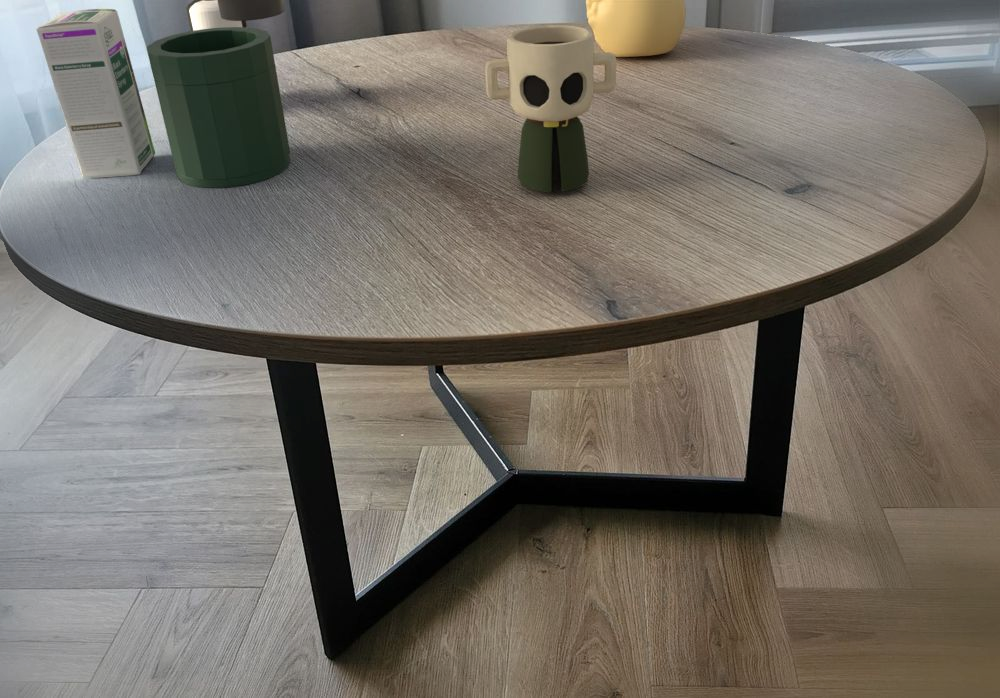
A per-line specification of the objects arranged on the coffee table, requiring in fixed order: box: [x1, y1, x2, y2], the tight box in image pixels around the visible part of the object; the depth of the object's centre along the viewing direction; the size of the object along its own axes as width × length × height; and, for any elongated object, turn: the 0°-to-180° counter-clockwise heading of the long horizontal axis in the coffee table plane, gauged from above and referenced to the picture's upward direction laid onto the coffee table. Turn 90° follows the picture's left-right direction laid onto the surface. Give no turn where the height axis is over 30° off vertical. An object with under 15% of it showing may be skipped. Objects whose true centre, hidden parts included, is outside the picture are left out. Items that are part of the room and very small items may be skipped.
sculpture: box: [585, 0, 687, 58], centre depth 119 cm, size 12×12×11 cm
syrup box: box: [35, 8, 156, 179], centre depth 91 cm, size 6×6×14 cm
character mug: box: [484, 24, 617, 193], centre depth 81 cm, size 11×7×13 cm, turn 92°
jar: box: [146, 27, 292, 189], centre depth 90 cm, size 11×11×12 cm
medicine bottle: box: [185, 0, 248, 31], centre depth 107 cm, size 7×7×12 cm
